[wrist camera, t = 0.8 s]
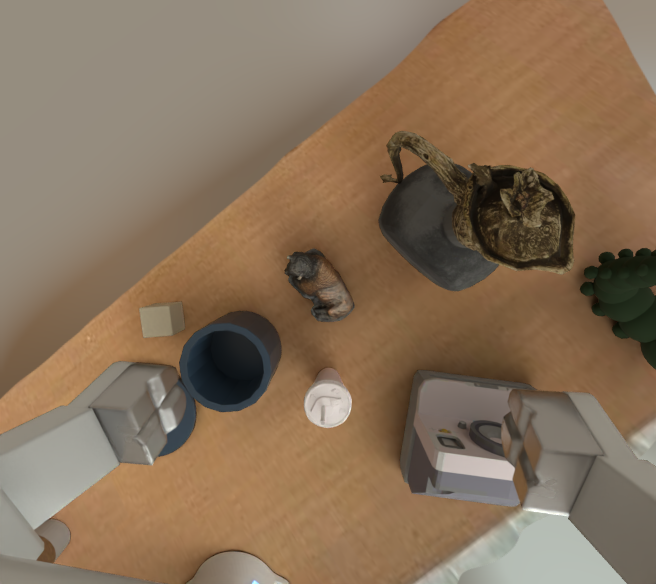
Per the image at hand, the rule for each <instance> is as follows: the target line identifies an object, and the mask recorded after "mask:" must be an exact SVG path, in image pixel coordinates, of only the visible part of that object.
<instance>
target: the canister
mask: <svg viewBox="0 0 656 584" xmlns="http://www.w3.org/2000/svg"><path fill="white" fill-rule="evenodd" d="M280 357H281V341H280V338H279V335H278V333H277V331H276V329H275V328H274V326H273V325H272V324H271V323H270V322H269V321H268V320H267V319H265V318H264V317H262V316H261V315H259V314H256V313H253V312H249V311H236V312H230V313H228V314H226V315H224V316H222V317H220V318H218V319H217V320H215V321H213V322H212V323H210V324H208V325H207V326H205V327H203V328H202V329H200V330H198V331H197V332H195V333H194V334H193V335H192V337H191V338H190V339H189V340H188V342H187V343H186V344H185V345H184V348H183V351H182V355H181V358H180V362H179V364H180V372H181V379H182V382H183V383H184V385H185V387H186V389H187V390H188V392H189V394H190V395H191V396H192V397H193V398H194V399H195V400H197V401H198V402H199V403H201V404H202V405H203V406H205V407H207V408H210V409H213V410H216V411H219V412H231V411H240V410H242V409H244V408H246V407H248V406H250V405H252V404H254V403H256V402H257V400H258V399H259V398H260V397H261V396H262V395H263V393H264V392H265V391H266V390H267V388H268V386H269V384H270V381H271V379H272V377H273V375H274V373H275V371H276V369H277V367H278V363H279V361H280Z"/></svg>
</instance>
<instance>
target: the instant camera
mask: <svg viewBox="0 0 656 584" xmlns="http://www.w3.org/2000/svg"><path fill="white" fill-rule="evenodd" d="M512 389H524V390H536V389H535V388H534V387H532V386H531V385H528V384H525V383H517V382H510V381H502V380H495V379H487V378H480V377H472V376H465V375H457V374H450V373H442V372H435V371H427V370H417V372H416V373H415V375H414V378H413V384H412V390H411V396H410V402H409V408H408V414H407V420H406V426H405V432H404V438H403V444H402V450H401V456H400V468H401V472H402V475H403V478H404V481H405V482H406V483H408V484H409V486H410V489H411V492H412V493H413V494H420V495H428V496H435V497H443V498H450V499H458V500H465V501H473V502H480V503H488V504H495V505H503V506H517V505H518V504H519V503H520V501H519V498H518V495H517V492H516V489H515V486H514V483H513V480H512V478H513V474H514V471H515V468H514V467H513V466H512V465H511V464H510V463H509V462H508V461H507V460H506V458H505V454H504V451H503V446H502V441H501V426H502V421H503V416H505V415H506V414H507V413H509V412H510V408H509V405H508V403H507V401H508V397H509V393H510V392H511V391H512Z"/></svg>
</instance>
